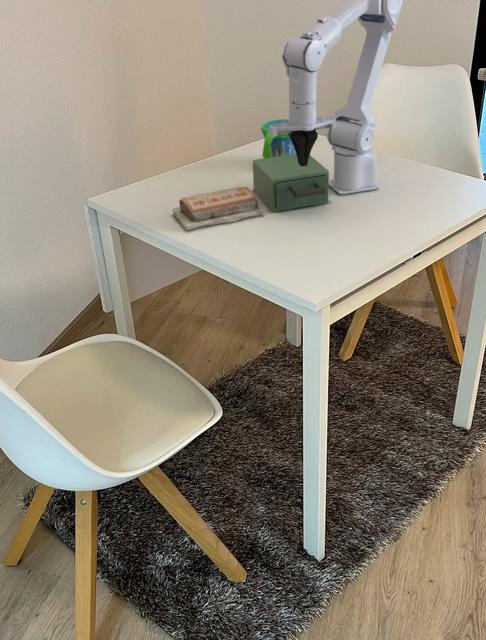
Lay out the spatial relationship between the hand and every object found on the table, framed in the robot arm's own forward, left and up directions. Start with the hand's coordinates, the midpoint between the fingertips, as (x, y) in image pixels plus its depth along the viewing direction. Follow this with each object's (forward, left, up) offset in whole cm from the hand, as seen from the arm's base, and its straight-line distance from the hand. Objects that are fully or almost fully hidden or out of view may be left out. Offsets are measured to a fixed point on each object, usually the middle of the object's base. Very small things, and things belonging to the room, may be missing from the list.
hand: (302, 164), depth 159 cm
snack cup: (-6, -29, -11) cm, 31 cm away
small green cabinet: (0, -8, -10) cm, 13 cm away
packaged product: (+19, -4, -11) cm, 22 cm away
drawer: (0, -4, -10) cm, 10 cm away
